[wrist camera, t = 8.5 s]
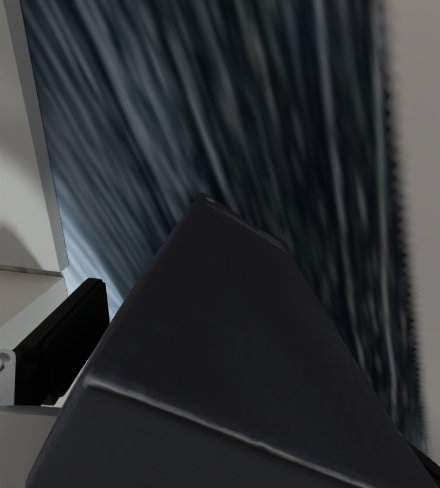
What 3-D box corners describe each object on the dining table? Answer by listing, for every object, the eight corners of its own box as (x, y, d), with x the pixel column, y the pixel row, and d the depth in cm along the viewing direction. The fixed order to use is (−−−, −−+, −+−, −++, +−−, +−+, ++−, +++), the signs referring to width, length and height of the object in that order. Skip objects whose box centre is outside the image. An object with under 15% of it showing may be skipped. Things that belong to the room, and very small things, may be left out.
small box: (195, 184, 11) (41, 372, 2) (289, 242, 13) (498, 532, 3) (124, 312, 15) (-50, 596, 5) (202, 347, 16) (173, 623, 7)
